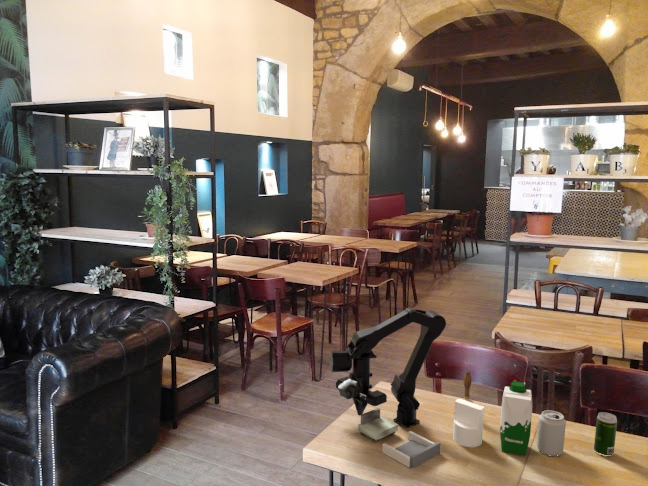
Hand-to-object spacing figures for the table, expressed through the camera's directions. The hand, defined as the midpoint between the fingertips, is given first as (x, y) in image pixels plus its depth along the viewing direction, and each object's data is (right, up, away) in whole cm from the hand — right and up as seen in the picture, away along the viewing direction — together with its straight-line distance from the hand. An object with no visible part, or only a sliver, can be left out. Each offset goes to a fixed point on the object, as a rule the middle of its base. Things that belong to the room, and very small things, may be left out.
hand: (359, 415), depth 175 cm
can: (+57, -7, -14) cm, 59 cm away
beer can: (+74, -7, -14) cm, 75 cm away
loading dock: (+14, -6, -16) cm, 22 cm away
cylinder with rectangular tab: (+34, -6, -8) cm, 35 cm away
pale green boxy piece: (+5, -4, -6) cm, 9 cm away
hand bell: (+38, -3, +9) cm, 39 cm away
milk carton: (+47, -6, -12) cm, 49 cm away
